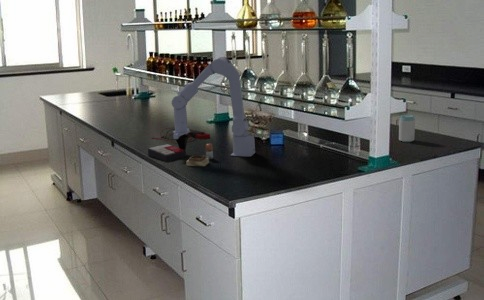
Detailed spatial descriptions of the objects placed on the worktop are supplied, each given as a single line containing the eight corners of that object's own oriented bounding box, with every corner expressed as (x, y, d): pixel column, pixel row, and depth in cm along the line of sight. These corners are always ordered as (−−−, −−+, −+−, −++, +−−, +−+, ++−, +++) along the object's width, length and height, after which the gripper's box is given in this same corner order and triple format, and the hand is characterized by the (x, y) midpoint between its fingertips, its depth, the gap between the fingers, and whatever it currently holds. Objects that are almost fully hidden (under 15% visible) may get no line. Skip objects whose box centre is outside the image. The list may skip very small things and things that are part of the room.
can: (408, 143, 260) (409, 117, 257) (395, 141, 266) (396, 116, 263) (417, 140, 264) (418, 115, 262) (404, 138, 270) (405, 113, 267)
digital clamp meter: (184, 123, 306) (213, 129, 288) (185, 132, 307) (213, 138, 289) (148, 130, 291) (175, 137, 273) (148, 139, 292) (176, 146, 274)
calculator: (165, 154, 245) (147, 147, 256) (165, 163, 246) (147, 156, 257) (186, 149, 251) (167, 142, 262) (186, 158, 253) (168, 151, 264)
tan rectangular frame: (208, 162, 240) (208, 155, 240) (204, 166, 235) (204, 158, 234) (191, 162, 243) (190, 154, 242) (186, 165, 237) (186, 158, 237)
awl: (213, 157, 248) (213, 143, 247) (211, 159, 245) (210, 145, 244) (207, 157, 249) (206, 143, 247) (205, 159, 246) (204, 145, 245)
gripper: (178, 118, 261) (180, 147, 264) (166, 124, 248) (168, 154, 251) (192, 118, 259) (194, 147, 262) (181, 125, 246) (183, 155, 249)
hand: (182, 151), depth 257 cm, fingers closed
